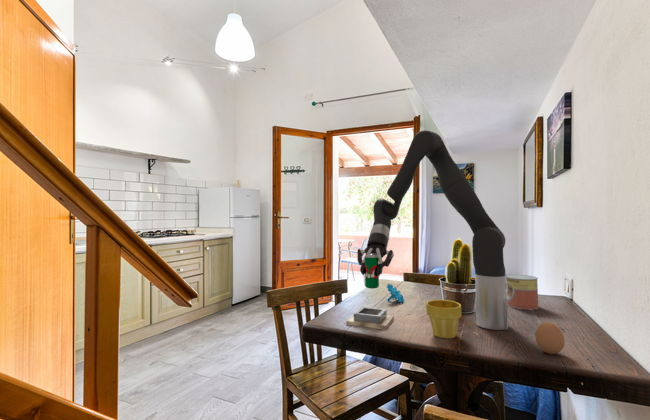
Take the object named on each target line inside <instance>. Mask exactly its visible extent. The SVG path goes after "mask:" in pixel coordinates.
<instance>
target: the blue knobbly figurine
mask: <svg viewBox="0 0 650 420" xmlns="http://www.w3.org/2000/svg"><path fill="white" fill-rule="evenodd" d="M386 288H387V291H388V292H390V296H389V297H388V298H387V299H386V301H388V302H389V301H391V300H394V299H395V300H397V301H398V302H399V303H403V304H404V303H405V298H404V295H403V294H401V290H400V289H398V288H397V287H396V286H395V287H394V285H393V284H391V283H388V284H387V285H386ZM397 289H398V290H397Z"/></svg>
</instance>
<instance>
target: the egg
mask: <svg viewBox="0 0 650 420" xmlns="http://www.w3.org/2000/svg"><path fill="white" fill-rule="evenodd" d="M535 342H536V345H537V346H538V347H539V349H541V350H542V351H543V352H545V353H546V354H549V355H556V354H559V353H560V352H561V351H562V350H563V349H564V347H565V342H566V341H565V337H564V334H563V332H562V330H561V329H560V327H559V326H558V325H556V324H555V323H554V322H551V321H545V322H542V323H541V324H539V326H538V327H537V329H536V330H535Z"/></svg>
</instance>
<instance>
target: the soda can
mask: <svg viewBox="0 0 650 420" xmlns="http://www.w3.org/2000/svg"><path fill="white" fill-rule="evenodd" d="M364 257H365V274H364V286H365V288H366V289H371V290H372V289H378V288H379V287H380V276H377V267H378V264H379V257H378V254H366V253H364Z"/></svg>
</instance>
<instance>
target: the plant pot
mask: <svg viewBox="0 0 650 420" xmlns="http://www.w3.org/2000/svg"><path fill="white" fill-rule="evenodd" d="M425 303H426V305H425V306H426V314H427V315H428V316H429V321H430V324H431V328H432V333H433V335H434V336H435V337H437V338H440V339H453V338H455V337H456V336H457V332H458V327H459V321H460V318H461V317H462V313H463V312H462V304H461V303H460V302H457V301H454V300H450V299H448V300H447V299H433V300H428V301H427V302H425Z"/></svg>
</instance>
